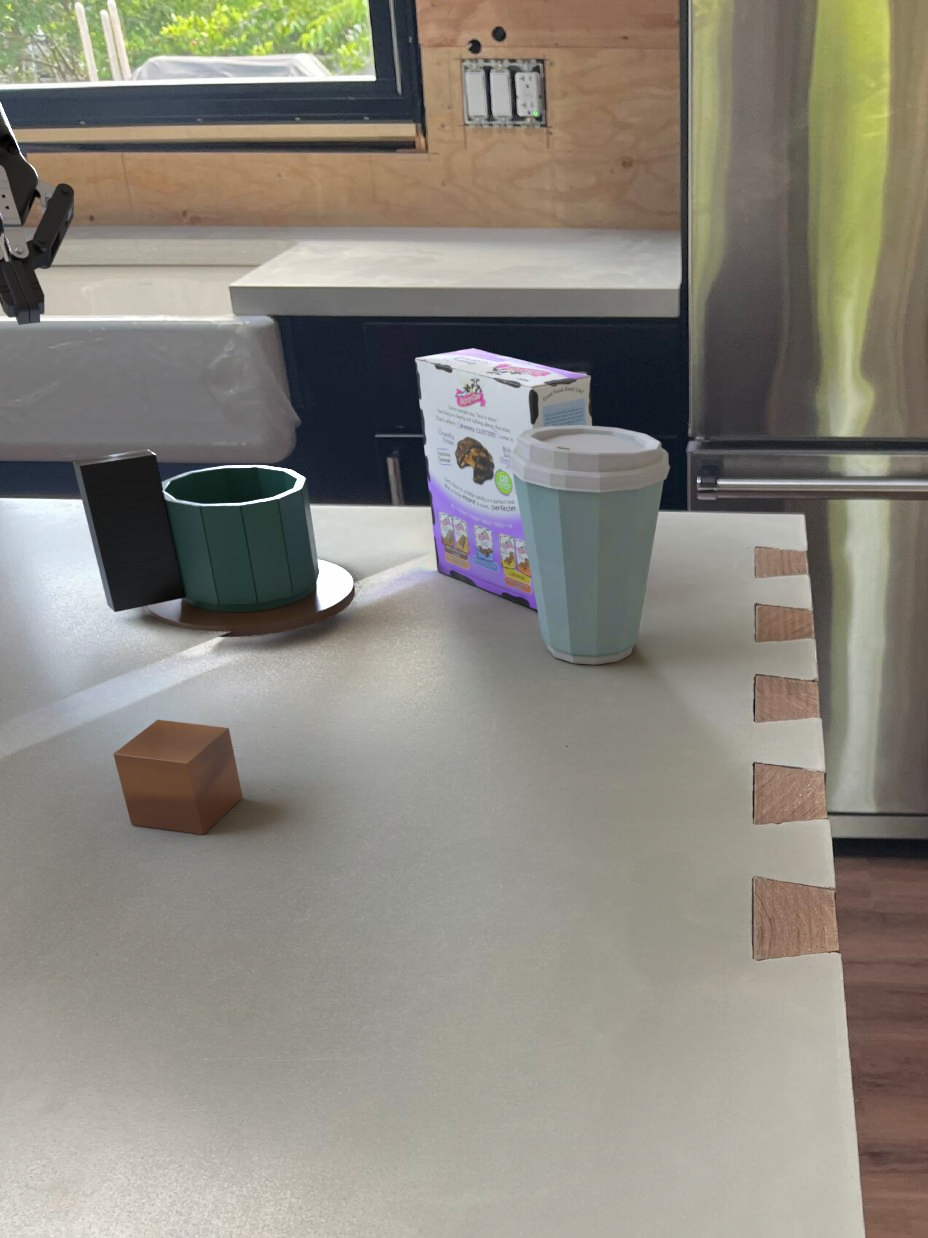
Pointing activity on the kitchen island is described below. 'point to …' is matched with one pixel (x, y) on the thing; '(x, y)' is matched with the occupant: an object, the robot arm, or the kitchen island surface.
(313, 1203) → the kitchen island surface
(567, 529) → the disposable coffee cup
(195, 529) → the cup with saucer
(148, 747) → the block
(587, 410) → the candy box
